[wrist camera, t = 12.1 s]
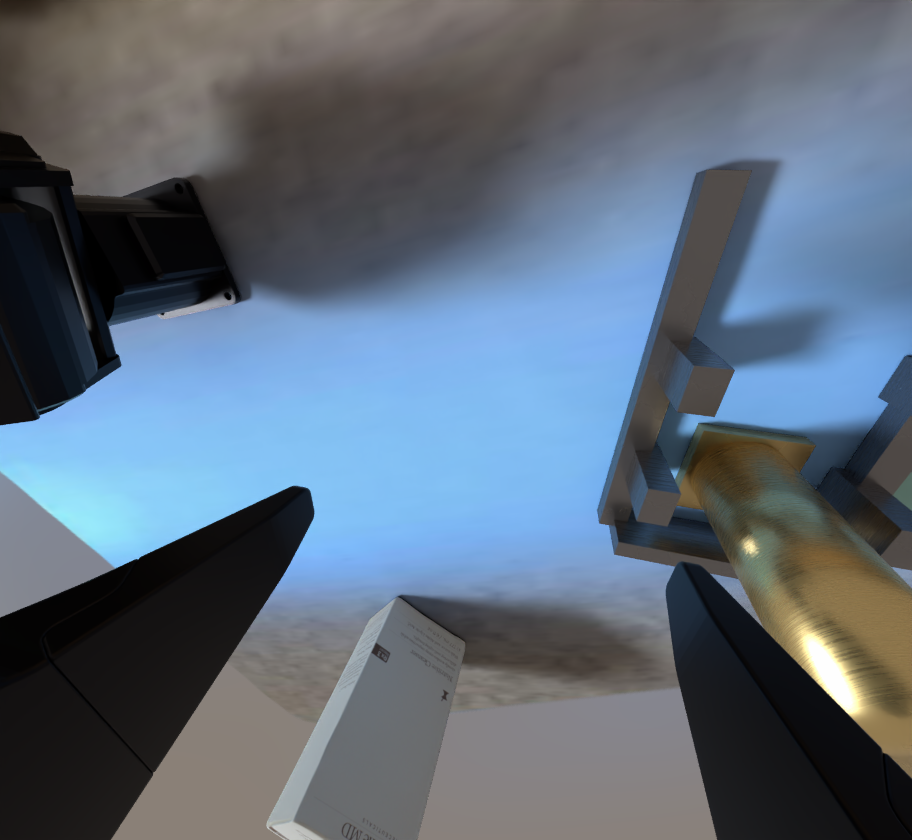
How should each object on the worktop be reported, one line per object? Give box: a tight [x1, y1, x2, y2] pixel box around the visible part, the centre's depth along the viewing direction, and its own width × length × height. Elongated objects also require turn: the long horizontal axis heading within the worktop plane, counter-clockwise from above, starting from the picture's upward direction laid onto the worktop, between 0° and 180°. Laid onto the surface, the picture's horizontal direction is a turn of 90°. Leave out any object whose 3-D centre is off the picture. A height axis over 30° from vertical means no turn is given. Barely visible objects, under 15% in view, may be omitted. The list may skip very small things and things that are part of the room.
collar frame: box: [597, 170, 912, 579], centre depth 16 cm, size 16×18×4 cm
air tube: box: [675, 423, 912, 778], centre depth 15 cm, size 5×5×12 cm
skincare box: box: [267, 597, 466, 840], centre depth 28 cm, size 8×6×15 cm
